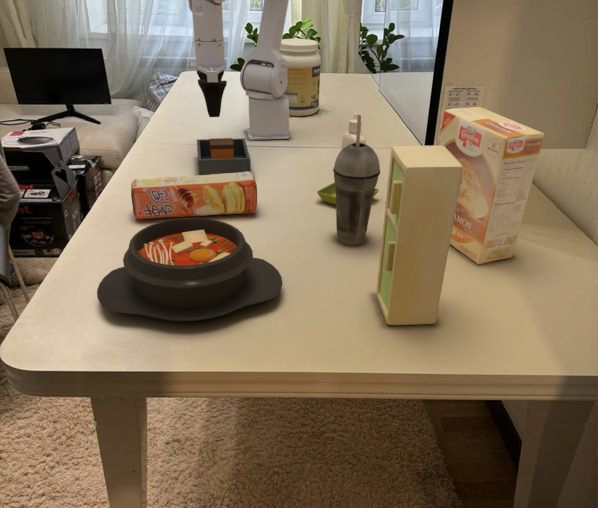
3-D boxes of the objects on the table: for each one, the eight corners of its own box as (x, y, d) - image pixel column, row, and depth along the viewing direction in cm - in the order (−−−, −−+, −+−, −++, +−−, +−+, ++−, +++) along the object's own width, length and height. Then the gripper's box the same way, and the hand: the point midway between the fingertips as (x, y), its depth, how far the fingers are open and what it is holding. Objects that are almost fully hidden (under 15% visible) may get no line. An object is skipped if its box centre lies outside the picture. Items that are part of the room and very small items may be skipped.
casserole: (94, 342, 73) (81, 282, 68) (104, 270, 88) (93, 216, 83) (293, 324, 78) (294, 267, 73) (271, 258, 92) (270, 206, 87)
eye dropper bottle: (360, 169, 126) (365, 109, 118) (363, 178, 121) (369, 117, 114) (339, 169, 125) (343, 109, 118) (342, 178, 121) (346, 117, 114)
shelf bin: (245, 156, 130) (244, 138, 128) (250, 178, 120) (250, 158, 117) (198, 158, 129) (196, 139, 127) (199, 180, 118) (197, 160, 116)
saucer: (340, 188, 116) (340, 178, 115) (379, 199, 112) (380, 188, 111) (315, 202, 111) (315, 191, 109) (355, 214, 107) (356, 203, 105)
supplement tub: (319, 117, 157) (322, 46, 147) (273, 116, 157) (272, 44, 147) (318, 105, 167) (321, 38, 157) (275, 104, 166) (275, 36, 156)
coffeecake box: (423, 226, 103) (442, 108, 91) (458, 220, 105) (480, 105, 94) (477, 265, 92) (506, 137, 80) (513, 258, 94) (547, 132, 83)
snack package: (134, 224, 101) (128, 185, 97) (135, 208, 106) (130, 171, 102) (258, 217, 104) (257, 180, 100) (254, 203, 110) (253, 166, 106)
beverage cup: (377, 234, 100) (391, 109, 88) (367, 252, 95) (380, 122, 83) (335, 227, 102) (343, 104, 90) (323, 244, 96) (330, 116, 85)
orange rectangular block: (233, 162, 126) (232, 138, 123) (234, 168, 123) (233, 144, 120) (211, 162, 125) (209, 138, 122) (211, 169, 122) (210, 144, 119)
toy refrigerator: (369, 294, 84) (386, 144, 72) (420, 293, 85) (445, 144, 72) (380, 326, 78) (400, 167, 65) (435, 325, 78) (466, 167, 66)
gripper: (187, 33, 122) (193, 102, 130) (188, 46, 110) (194, 121, 118) (222, 33, 123) (225, 102, 131) (227, 46, 111) (230, 121, 119)
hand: (213, 111), depth 125 cm, fingers open, 7 cm apart
